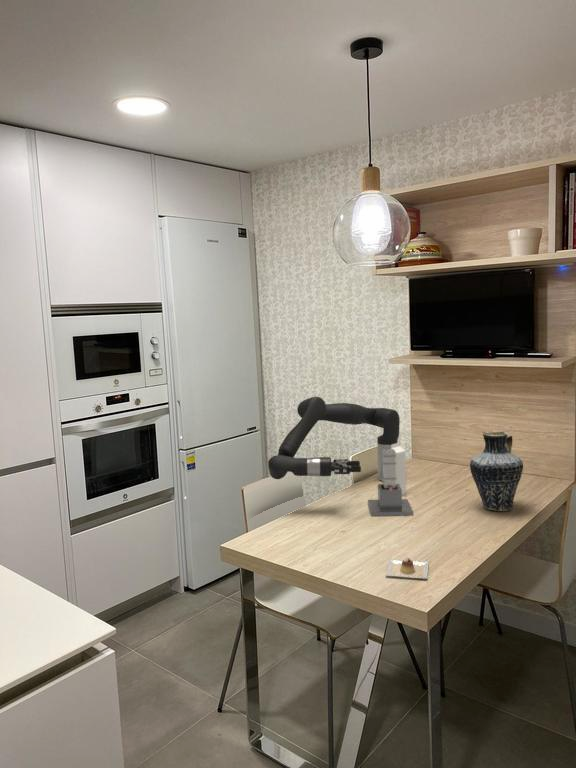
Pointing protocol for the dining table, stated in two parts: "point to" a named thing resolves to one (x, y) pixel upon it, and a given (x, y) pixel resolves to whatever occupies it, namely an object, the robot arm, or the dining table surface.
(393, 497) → the stand
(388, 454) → the column
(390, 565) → the dessert
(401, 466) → the milk
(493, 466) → the jug
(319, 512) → the dining table surface
